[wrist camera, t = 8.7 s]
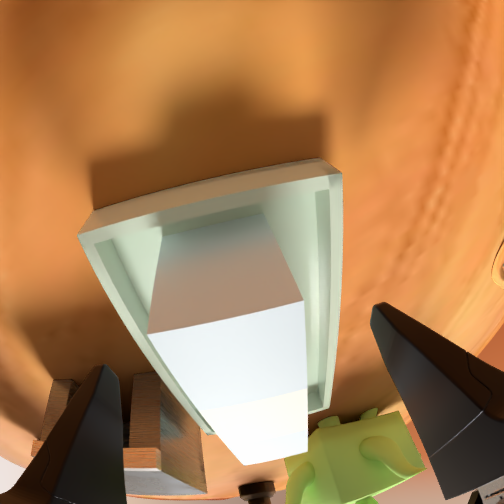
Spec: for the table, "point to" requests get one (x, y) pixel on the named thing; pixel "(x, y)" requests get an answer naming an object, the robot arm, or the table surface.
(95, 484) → the robot arm
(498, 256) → the beer glass
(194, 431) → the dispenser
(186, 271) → the white square column
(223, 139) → the table surface
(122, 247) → the dish
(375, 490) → the kettle
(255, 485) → the dark turned peg
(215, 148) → the table surface
